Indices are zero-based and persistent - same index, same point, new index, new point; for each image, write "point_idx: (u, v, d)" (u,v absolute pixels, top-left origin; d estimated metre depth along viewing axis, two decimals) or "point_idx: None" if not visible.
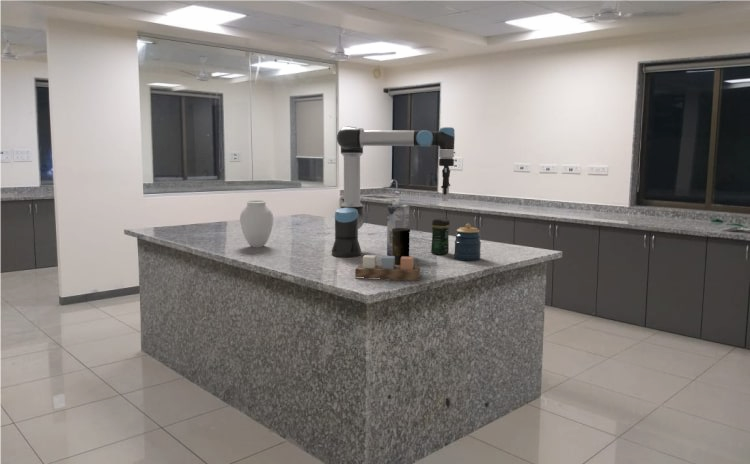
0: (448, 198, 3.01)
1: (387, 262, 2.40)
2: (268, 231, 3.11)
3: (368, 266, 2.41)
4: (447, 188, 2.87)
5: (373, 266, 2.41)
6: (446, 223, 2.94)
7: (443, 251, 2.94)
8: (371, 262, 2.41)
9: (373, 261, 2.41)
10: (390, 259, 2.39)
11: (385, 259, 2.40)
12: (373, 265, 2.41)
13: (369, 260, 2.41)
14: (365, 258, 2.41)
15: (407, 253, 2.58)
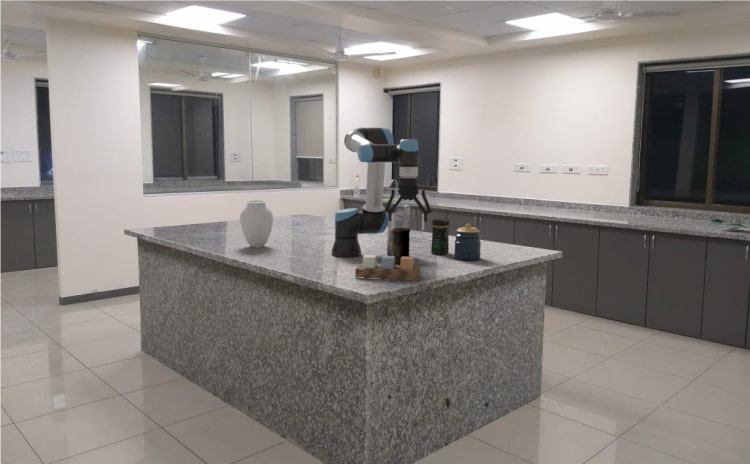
0: None
1: (387, 262, 2.40)
2: (268, 231, 3.11)
3: (368, 266, 2.41)
4: (391, 214, 2.38)
5: (373, 266, 2.41)
6: (446, 223, 2.94)
7: (443, 251, 2.94)
8: (371, 262, 2.41)
9: (373, 261, 2.41)
10: (390, 259, 2.39)
11: (385, 259, 2.40)
12: (373, 265, 2.41)
13: (369, 260, 2.41)
14: (365, 258, 2.41)
15: (407, 253, 2.58)
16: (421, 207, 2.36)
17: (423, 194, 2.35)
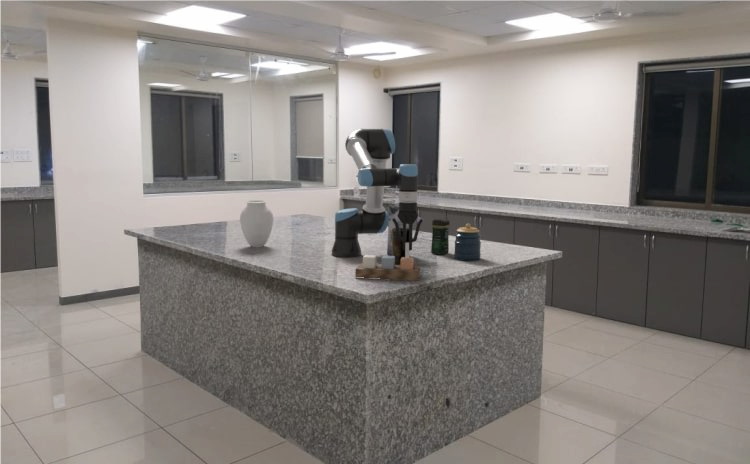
0: (406, 257, 2.39)
1: (387, 262, 2.40)
2: (268, 231, 3.11)
3: (368, 266, 2.41)
4: (405, 243, 2.39)
5: (373, 266, 2.41)
6: (446, 223, 2.94)
7: (443, 251, 2.94)
8: (371, 262, 2.41)
9: (373, 261, 2.41)
10: (390, 259, 2.39)
11: (385, 259, 2.40)
12: (373, 265, 2.41)
13: (369, 260, 2.41)
14: (365, 258, 2.41)
15: None
16: (410, 234, 2.38)
17: (419, 223, 2.37)
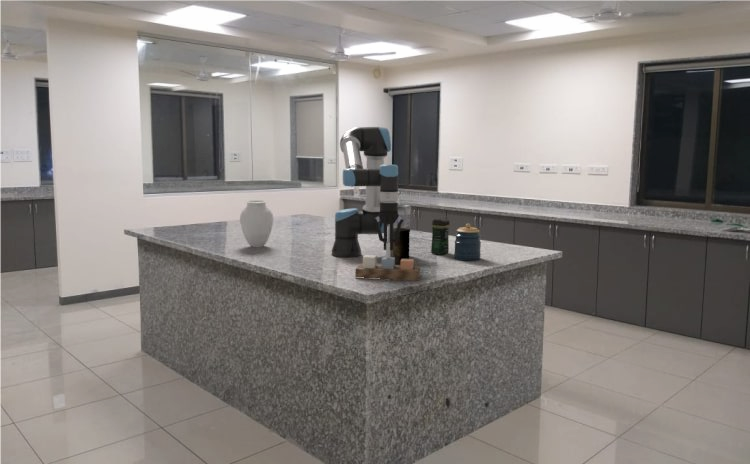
0: (387, 257, 2.41)
1: (387, 264, 2.40)
2: (268, 231, 3.11)
3: (368, 266, 2.41)
4: (386, 243, 2.40)
5: (373, 266, 2.41)
6: (446, 223, 2.94)
7: (443, 251, 2.94)
8: (371, 262, 2.41)
9: (373, 261, 2.41)
10: (390, 260, 2.40)
11: (385, 260, 2.40)
12: (373, 265, 2.41)
13: (369, 260, 2.41)
14: (365, 258, 2.41)
15: (407, 253, 2.58)
16: (391, 234, 2.39)
17: (400, 223, 2.38)
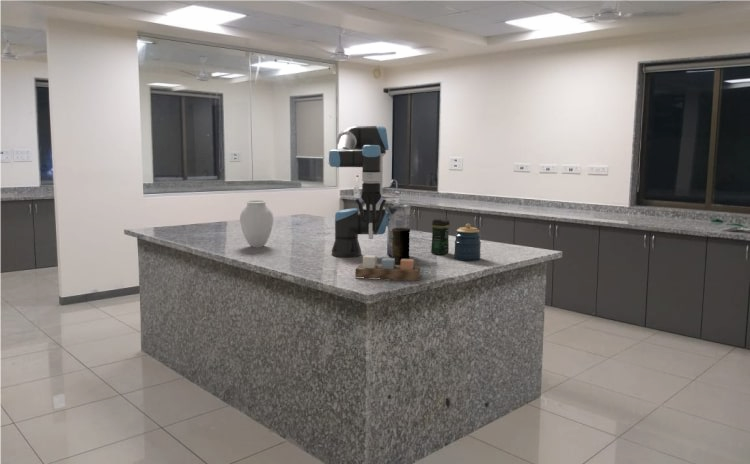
0: (370, 238, 2.41)
1: (387, 265, 2.40)
2: (268, 231, 3.11)
3: (368, 266, 2.41)
4: (368, 223, 2.40)
5: (373, 266, 2.41)
6: (446, 223, 2.94)
7: (443, 251, 2.94)
8: (371, 262, 2.41)
9: (373, 261, 2.41)
10: (390, 261, 2.40)
11: (385, 261, 2.40)
12: (373, 265, 2.41)
13: (369, 260, 2.41)
14: (365, 258, 2.41)
15: (407, 253, 2.58)
16: (373, 215, 2.39)
17: (382, 203, 2.38)
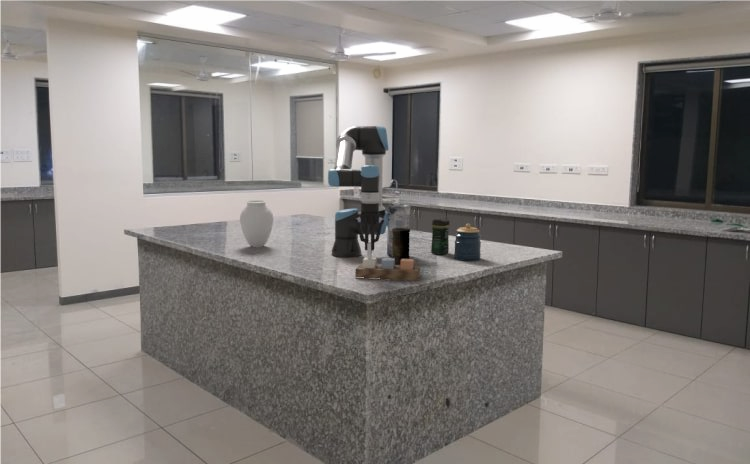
0: (369, 258, 2.42)
1: (387, 265, 2.40)
2: (268, 231, 3.11)
3: None
4: None
5: None
6: (446, 223, 2.94)
7: (443, 251, 2.94)
8: (371, 264, 2.41)
9: (373, 263, 2.41)
10: (390, 261, 2.40)
11: (385, 261, 2.40)
12: (373, 267, 2.41)
13: (369, 262, 2.41)
14: (365, 260, 2.41)
15: (407, 253, 2.58)
16: (372, 235, 2.41)
17: (381, 223, 2.39)
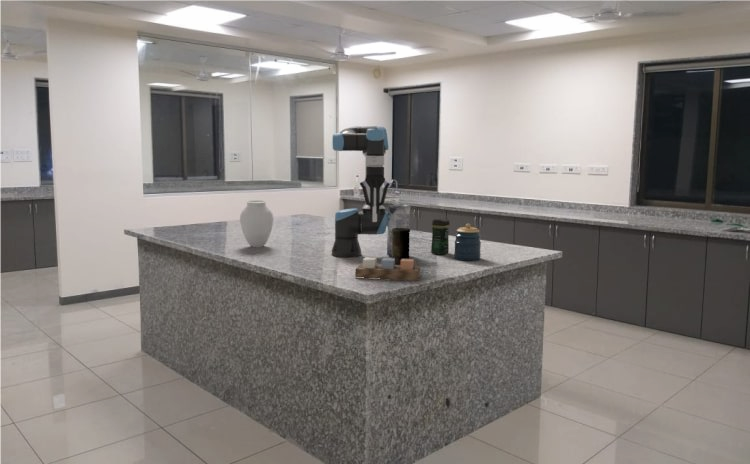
0: (374, 221, 2.44)
1: (387, 265, 2.40)
2: (268, 231, 3.11)
3: None
4: (372, 207, 2.43)
5: None
6: (446, 223, 2.94)
7: (443, 251, 2.94)
8: (371, 264, 2.41)
9: (373, 263, 2.41)
10: (390, 261, 2.40)
11: (385, 261, 2.40)
12: (373, 267, 2.41)
13: (369, 262, 2.41)
14: (365, 260, 2.41)
15: (407, 253, 2.58)
16: (377, 198, 2.42)
17: (386, 187, 2.41)
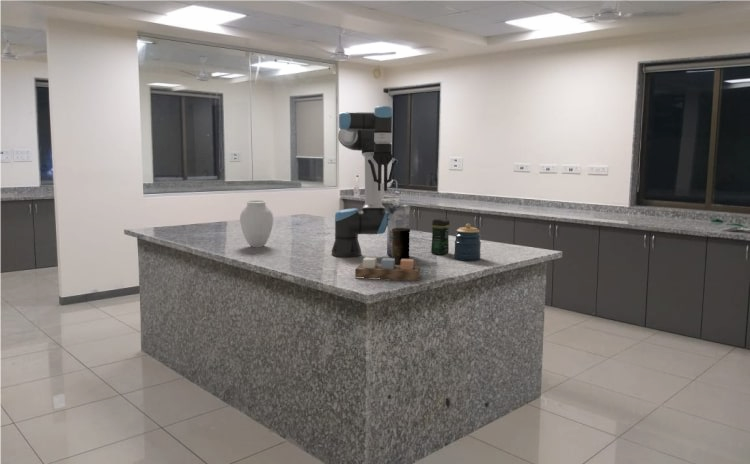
0: (382, 198, 2.47)
1: (387, 265, 2.40)
2: (268, 231, 3.11)
3: None
4: (380, 183, 2.46)
5: None
6: (446, 223, 2.94)
7: (443, 251, 2.94)
8: (371, 264, 2.41)
9: (373, 263, 2.41)
10: (390, 261, 2.40)
11: (385, 261, 2.40)
12: (373, 267, 2.41)
13: (369, 262, 2.41)
14: (365, 260, 2.41)
15: (407, 253, 2.58)
16: (385, 175, 2.45)
17: (394, 163, 2.44)
